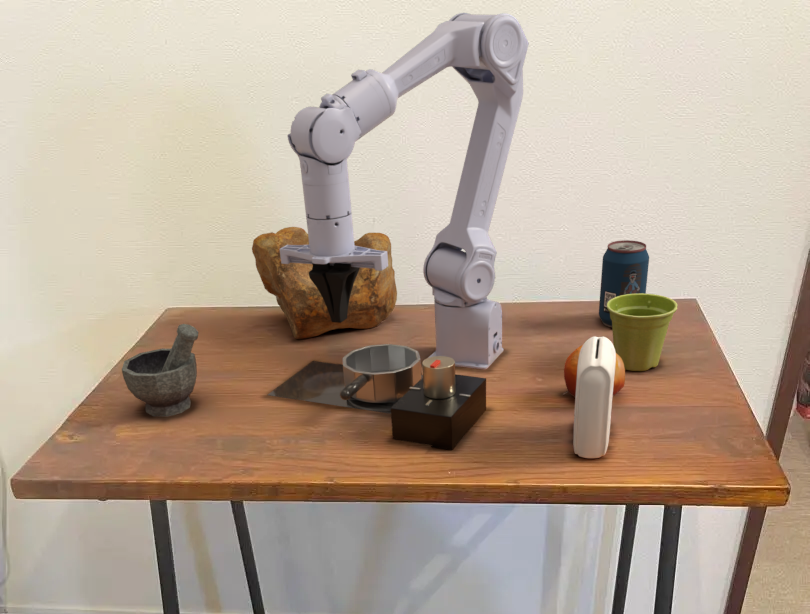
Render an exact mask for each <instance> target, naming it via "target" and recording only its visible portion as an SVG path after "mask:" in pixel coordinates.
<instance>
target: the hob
mask: <svg viewBox="0 0 810 614" xmlns="http://www.w3.org/2000/svg"><path fill="white" fill-rule="evenodd" d="M421 378H423V374H421ZM344 388H345V382H344V371H343V363H332V362H325V361H319V360H312V361H310V362H309V363H308V364H307V365H305V366H304V367H302V368H301V369H300V370H299V371H297V372H296V373H295V374H293V375H292V376H290V377H289V378H288V379H287V380H285V381H284V382H282V383H281V384H280V385H278V386H277V387H276V388H275V389H273V390H271V391H270V392H269V393H268V394H267V396H270V397H275V398H282V399H289V400H297V401H301V402H302V401H303V402H308V403H309V402H310V403H317V404H323V405H328V406H329V405H330V406H336V407H343V408H348V409H355V410H363V411H369V412H377V413H382V414H388V415H391V407H392V406H393V405H394V404H391V403H370V402H363V401H360V400H357V399H354V398H349V399H348V400H343V399H342V398H341V397H340V392H341V391H342V390H343V389H344Z"/></svg>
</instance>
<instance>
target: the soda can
mask: <svg viewBox="0 0 810 614" xmlns="http://www.w3.org/2000/svg"><path fill="white" fill-rule="evenodd" d="M649 263H650V255H649V253H648V249H647V244H646V243H644V242H642V241H638V240H625V239H624V240H615V241H611V242H609V243H608V244H607V247H606V250H605V252H604V254H603V255H602V262H601V274H600V275H601V276H600V277H601V278H600V290H599V303H598V304H599V305H598V316H599V318H600V320H601V322H602V324H603V325H604V326H606V327H609V328H612V320H611V318H610V311H609V310H608V309H607V303H608V301H609V300H611V299H613V298H615V297H617V296H621V295H626V294H639V293H640V294H641V293H643V294H647V287H648V286H647V285H648V274H649Z"/></svg>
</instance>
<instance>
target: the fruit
mask: <svg viewBox="0 0 810 614" xmlns="http://www.w3.org/2000/svg"><path fill="white" fill-rule="evenodd" d="M582 346H583V344H582V345H579V346H578V347H577V348H575V349H574V350H573V351H572V352H571V353H570V354H569V355H568V356H567V358H566V360H565V362H564V366H563V379H564V382H565V388H566V391H564V392H563V393H562V396H565V395H566V394H569V395H571V396H572V397H574V398H575V396H576V381H577V366H578V358H579V354H580V350H581V348H582ZM625 383H626V370H625V368H624V363H623V361H622V359H621V357H620V356H619V355H618V354H617V353H616V364H615V375H614V386H613V397H614V396H615V395H617V393H619V391H621V390H622V389H623V388H624V386H625Z"/></svg>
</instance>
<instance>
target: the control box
mask: <svg viewBox="0 0 810 614" xmlns="http://www.w3.org/2000/svg"><path fill="white" fill-rule="evenodd" d="M455 388H456V392H455V394H454V395H453V396H451V397H448V398H443V399H434V398H429V397H427V396H425V395H424V390H423V378H422V379H421V380H419V381H418V382H417V383H416V384H415V385H414V386H413V387H410V388H409V389H410V390H409V391H408V392H407V393H406V394H405V395H404V396H403V397H402V398H401V399H400V400H398V401H397V402H396V403H395V404H394V405H393V406H392V407H391V414H390V420H391V434H392V440H396V441H402V442H409V443H415V444H420V445H426V446H430V448H435V449H442V450H448V451H453V450H454V449H455V448H456V447H457V445H458V444H459V443H460V442H461V440H462V439H464V437H465V435H467V434H468V432H469V431H470V430H471V429H472V428H473V426H474V425H475V424H476V423H477V421H478V420H479V419H480V418H481V417H482V416H483V414H484V413H485V412H486V411H487V378H486V377H480V376H470V375H463V374H456V373H455Z"/></svg>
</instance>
